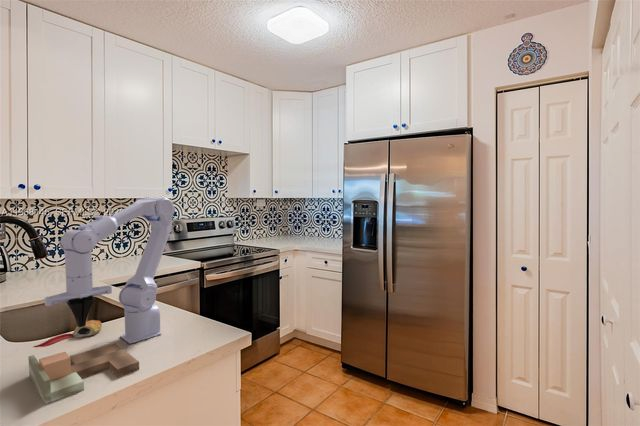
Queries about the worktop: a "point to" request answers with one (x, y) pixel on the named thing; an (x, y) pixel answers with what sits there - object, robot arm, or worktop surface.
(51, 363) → the block
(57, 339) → the cayenne pepper
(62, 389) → the blocky structure
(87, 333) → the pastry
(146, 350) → the worktop surface
